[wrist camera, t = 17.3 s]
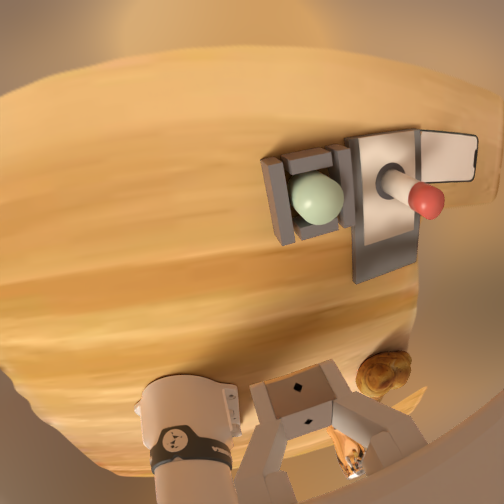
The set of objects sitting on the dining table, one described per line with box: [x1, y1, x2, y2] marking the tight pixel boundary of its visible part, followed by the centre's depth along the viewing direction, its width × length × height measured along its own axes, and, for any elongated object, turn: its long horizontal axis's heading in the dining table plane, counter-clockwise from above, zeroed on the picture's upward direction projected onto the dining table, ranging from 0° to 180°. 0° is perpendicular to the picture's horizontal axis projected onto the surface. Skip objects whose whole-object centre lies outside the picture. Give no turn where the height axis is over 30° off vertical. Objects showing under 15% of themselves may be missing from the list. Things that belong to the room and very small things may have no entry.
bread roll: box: [356, 351, 412, 397], centre depth 51 cm, size 13×10×8 cm
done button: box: [287, 170, 344, 225], centre depth 32 cm, size 5×5×4 cm
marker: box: [381, 169, 445, 220], centre depth 31 cm, size 3×3×8 cm
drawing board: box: [344, 129, 421, 284], centre depth 37 cm, size 20×11×1 cm, turn 11°
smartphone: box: [420, 130, 478, 184], centre depth 36 cm, size 8×1×16 cm
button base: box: [260, 144, 356, 246], centre depth 32 cm, size 9×9×3 cm
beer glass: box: [327, 425, 366, 480], centre depth 58 cm, size 7×7×15 cm
